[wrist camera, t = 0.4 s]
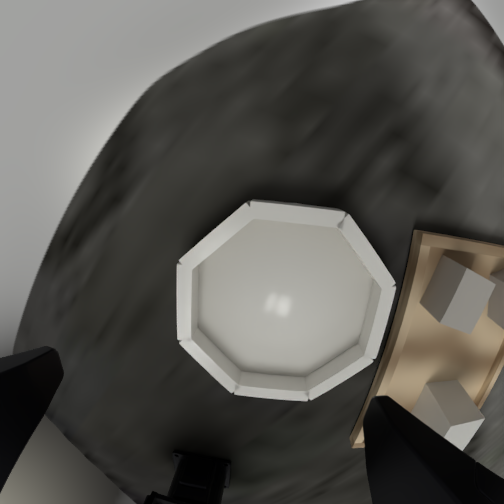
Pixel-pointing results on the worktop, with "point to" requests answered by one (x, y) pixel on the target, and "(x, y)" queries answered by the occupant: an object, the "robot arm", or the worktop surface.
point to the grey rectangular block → (449, 411)
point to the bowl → (283, 300)
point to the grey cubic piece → (456, 295)
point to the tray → (437, 331)
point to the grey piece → (497, 299)
